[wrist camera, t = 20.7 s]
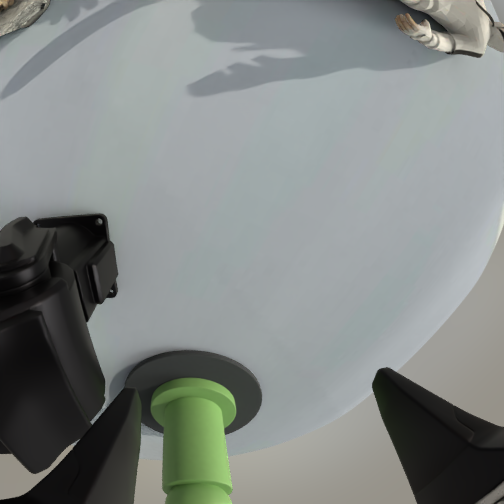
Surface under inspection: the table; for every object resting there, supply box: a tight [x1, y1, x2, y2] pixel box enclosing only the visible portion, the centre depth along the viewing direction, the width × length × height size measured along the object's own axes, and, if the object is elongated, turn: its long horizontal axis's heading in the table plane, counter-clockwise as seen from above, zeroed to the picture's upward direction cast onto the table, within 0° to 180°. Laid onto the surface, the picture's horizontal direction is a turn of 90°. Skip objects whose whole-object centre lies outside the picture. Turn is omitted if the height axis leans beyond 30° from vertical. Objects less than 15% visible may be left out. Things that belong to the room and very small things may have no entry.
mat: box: [124, 351, 262, 435], centre depth 26 cm, size 14×14×1 cm
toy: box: [151, 378, 236, 504], centre depth 19 cm, size 8×8×15 cm
